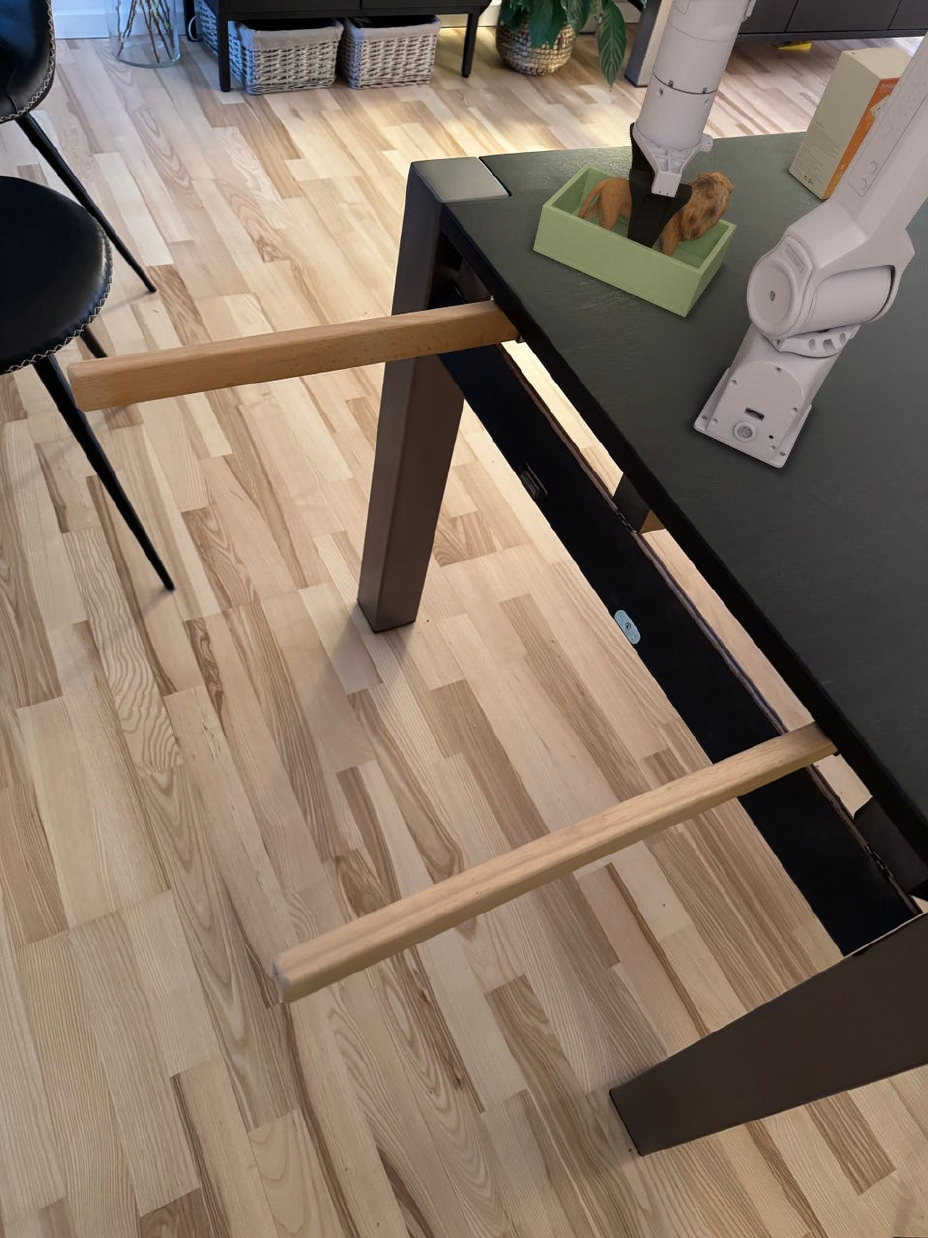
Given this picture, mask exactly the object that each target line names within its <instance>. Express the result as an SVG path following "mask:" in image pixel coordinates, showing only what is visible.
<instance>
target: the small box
mask: <svg viewBox="0 0 928 1238" xmlns="http://www.w3.org/2000/svg"><path fill="white" fill-rule="evenodd" d="M912 57H913V56H911V55H910V54H909V53H907V52H905V51H904V50H903V49H901V48H900V47H899V46H887V47H865V48H861V49H852V50H851V49H849V50H842V51H841V53H840V55H839V58H838V60H837V62H836V64H835V67H834V68H833V71H832V73H831V76H830V78H829V80H828V82H827V85H826V87H825V88H824V91H823V94H822V95H821V98H820V100H819V102H818V104H817V106H816V109H815V111H814V113H813V116H812V117H811V119H810V122H809V125H808V127H807V129H806V131H805V133H804V136H803V138H802V140H801V141H800V144H799V146H798V148H797V151H796V153H795V155H794V158H793V159H792V162H791V165H790V167H789V168H788V172H789V173H790V174H791V175H792V176H793V177H794V178H796V180H798V181H799V182H800V183H801V184H802V185H803V186H805V188H807V189H808V190H809V191H810V192H811V193H813V194H814V195H815V196H816V197H818V198H819V200H827V199H829V198H830V196H831V194H832V193H833V191H834V189H835V188H836V186H837V184H838V183H839V181H840V179H841V177H842V176H843V174H844V172H845V171H846V169H847V167H848V166H849V164H850V162H851V160H852V159H853V157H854V155H855V154H856V152H857V150H858V149H859V147H860V145H861V143H862V142H863V140H864V138H865V137H866V135H867V133H868V132H869V130H870V128H871V126H872V125H873V123H874V121H875V120H876V118H877V116H878V115H879V113H880V111H881V109H882V108H883V106H884V104H885V103H886V101H887V99H888V98H889V96H890V94H891V92H892V91H893V89H894V87H895V86H896V84H897V82H898V81H899V79H900V77H901V75H902V74H903V72H904V70H905V69H906V67H907V65H908V64H909V62H910V60H911V58H912Z"/></svg>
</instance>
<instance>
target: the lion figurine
mask: <svg viewBox="0 0 928 1238" xmlns="http://www.w3.org/2000/svg"><path fill="white" fill-rule="evenodd" d="M686 184H687V185H692V196H691V198H690V200H689V202H688V203H687V204H686V205H685V206H683V207H682V208H681V209H680V210H679V211H678V212H677V213H676V214H675V215H674V216H673V217H672V218H671V219H670V221H669V222H668V223H667V225H666V226H665V228H664V229H663V231H662V233H661V234H660V236H659V238H658V241H657V243H656V245H655V247H654V250H655V251H658V252H660V253H662V254H665V255H667V256H669V257H671V256H672V255H673V253H674V251H675V250H676V247H677V245H678V243H679V242H684V241H691V242H693V241H695V240H696V239H699V238H701V236H702V235H703V234H704V233H705V232H706V231H708V230H709V229H711V228H712V227H714V226H715V225H716V224H717V223H718V221H719V220H720V219H722V218H723V217H724V215H725V214H726V212H727V210H728V208H729V206H730V197H731V194H732V192H733V191H734V187H735V186H734V184H733V183H731V182H730V179H729V178H727V177H726V176H725V175H724V174H722V172H719V171H710V172H709V171H705V172H701V173H699V174H698V175H697V178H696V180H694V181H693V182H688V183H686ZM597 195H598V196H599V198H598V200H597V201H596V202H595V203H594V204H593V205H592V206H591V207H590V208H589V206H590V204H591V203H592V202H593V200H594V199H595V197H596V196H597ZM631 204H632V201H631V194H630V188H629V179H627V178H624V177H622V178H610V179H606V180H603V181H601V182H600V183H598V184H597V185H596V186H595V187H594V188H593V189H592V191H591V192H590V193H589V195H588V196H587V198H586V200H585V201H584V203H583V205H582V207H581V209H580V211H579V213H578V215H577V217H579V218H581V219H584V220H586V221H590V220H591V219H593V218H596V217H599V220H600V222H599V226H600V227H602V228H604V229H607V230H609V231H610V230H611V229H612V227H613V226H614V225H615V223H616V221H617V219H618V217H619V216H622V217H623V218H624V219H625V220H626V222H627V223H628V224H629V220H630V214H631Z"/></svg>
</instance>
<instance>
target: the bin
mask: <svg viewBox="0 0 928 1238" xmlns="http://www.w3.org/2000/svg"><path fill="white" fill-rule="evenodd" d="M610 178H623V177H621V176H619V175H617V174H614V173H612V172H610V171H607V170H605V169H602V168H600V167H598V166H594V165H593V164H590V163H588V162H586V163H585V164H584V165H583V166H581V168H580V169H579V170H578V171H577V172H576V173H574V174H573V176H571V177H570V178H569V180H568V181H566V182H565V183H564V184H563V185H562V186H561V187H560V188H559V189H558V190H557V191H556V192H554V194H553V195H552V196H551V197H549V199H548V200H547V201H546V202H545V203H544V204H543V205H542V208H541V213H540V217H539V222H538V225H537V231H536V235H535V240H534V244H533V247H532V251H534V252H536V253H539V254H540V255H543V256H546V257H547V258H550V259H551V260H554V261H556V262H559V263H561V264H563V265H565V266H568V267H570V268H572V269H575V270H577V271H579V272H581V273H584V274H586V275H587V276H590V277H593V278H594V279H597V280H599V281H601V282H604V283H606V284H609V285H611V286H613V287H615V288H618V289H620V290H622V291H624V292H627V293H628V294H631V295H633V296H635V297H638V298H640V299H643V300H645V301H647V302H649V303H651V304H653V305H656V306H658V307H660V308H663V309H665V310H667V311H669V312H672V313H674V314H676V315H678V316H680V317H682V318H686V317H687V315H688V314H689V312H691V310H692V308H693V307H694V305H695V304H696V302H697V301H698V300H699V298H700V297H701V295H702V294H703V293H704V291H705V290H706V288H707V286H708V285H709V284H710V283H711V281H712V279H713V278H714V277H715V275H716V274H717V272H718V271H719V269H720V268H721V266H722V263H723V260H724V259H725V255H726V253H727V251H728V249H729V246H730V244H731V242H732V239H733V237H734V234H735V232H736V229H737V224H734V223H732V222H729V221H727V220H725V219H722V218H721V219H720V220H719V221H718V223H717V224H716V225H715V226H714V227H712V228H711V229H709V230H708V231H706V232H705V233H704V234H703V235H702V236H701V238H699V239H696V240H695V241H693V242H691V241H684V242H679V243H678V245H677V247H676V250H675V251H674V253H673V255H672V256H671V257H669V256H667V255H665V254H662V253H660V252H658V251H655V250H654V247H655V245H656V243H657V241H658V239H657V241H656V243H655V244H654V246H653V247H652V249H651V248H648V247H646V246H644V245H641V244H639V243H637V242H635V241H632V240H630V239H628V238H627V233H628V226H629V224H628V223H627V222H626V220H625V219H624V218H623V217H622V216H619V217H618V219H617V221H616V223H615V225H614V226H613V227H612V229H611V230H610V231H609V230H607V229H604V228H602V227H600V226H599V222H600V220H599V217H596V218H593V219H591V220H590V221H586V220H584V219H581V218H579V217H577V215H578V213H579V211H580V209H581V207H582V205H583V203H584V201H585V200H586V198H587V196H588V195H589V193H590V192H591V191H592V189H593V188H594V187H595V186H596V185H597V184H598V183H600V182H601V181H603V180H606V179H610ZM598 198H599V196H598V195H597V196H596V197H595V199H594V200H593V202H592V203H591V204H590V206H589V208H590V207H591V206H592V205H593V204H594V203H595V202H596V201H597V200H598Z"/></svg>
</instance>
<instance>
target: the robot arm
mask: <svg viewBox="0 0 928 1238" xmlns="http://www.w3.org/2000/svg"><path fill="white" fill-rule="evenodd" d="M756 1H757V0H672V1H671V4H670V7H669V10H668V14H667V18H666V22H665V25H664V28H663V32H662V35H661V38H660V43H659V46H658V49H657V53H656V56H655V60H654V62H653V66H652V70H651V74H650V76H649V80H648V84H647V87H646V92H645V94H644V97H643V101H642V103H641V108H640V111H639V115H638V118H637V119H636V120H635V121H634V122H631V123H630V124H629V139H630V146H631V167H630V168H629V172H628V180H629V188H630V194H631V201H632V204H631V214H630V220H629V226H628V233H627V238H628V239H630V240H632V241H635V242H637V243H639V244H641V245H644V246H646V247H648V248H651V249H652V247H653V246H654V244H655V243H656V241H657V239H658V238H659V236H660V234H661V233H662V231H663V229H664V228H665V226H666V225H667V223H668V222H669V221H670V219H671V218H672V217H673V216H674V215H675V214H676V213H677V212H678V211H679V210H680V209H681V208H682V207H683V206H685V205H686V204H687V203H688V202H689V200H690V198H691V196H692V185H687V184H688V183H681V179H682V177H683V172H684V171H685V170H686V168H687V167H688V166H689V165H690V163H691V162H692V161H693V160H694V158H695V156H696V155H697V154H698V153H701V152H702V153H710V152H712V148H713V146H714V139H713V136H712V135H711V134H709V133H705V132H704V130H705V129H706V125H707V122H708V119H709V117H710V114H711V112H712V111H711V110H712V108H713V105H714V102H715V99H716V96H717V93H718V91H719V88H720V85H721V83H722V79H723V76H724V73H725V70H726V68H727V65H728V63H729V60H730V56H731V53H732V51H733V48H734V45H735V43H736V40H737V36H738V34H739V31H740V27H741V25H742V23H744V22H746V21H747V19H748V17H749V18H750V17H751V15H752V12H753V10H754V7H755V4H756ZM911 57H912V58H911V60H910V62H909V64H908V65H907V67H906V69H905V70H904V72H903V74H902V75H901V77H900V79H899V81H898V82H897V84H896V86H895V87H894V89H893V91H892V92H891V94H890V96H889V98H888V99H887V101H886V103H885V104H884V106H883V108H882V109H881V111H880V113H879V115H878V116H877V118H876V120H875V121H874V123H873V125H872V126H871V128H870V130H869V132H868V133H867V135H866V137H865V138H864V140H863V142H862V143H861V145H860V147H859V149H858V150H857V152H856V154H855V155H854V157H853V159H852V160H851V162H850V164H849V166H848V167H847V169H846V171H845V172H844V174H843V176H842V177H841V179H840V181H839V183H838V184H837V186H836V188H835V189H834V191H833V193H832V194H831V196H830V198H827V199H825V200H824V202H822V203H821V204H819V205H818V206H817V207H815V208H813V209H812V210H810V211H808V213H806V214H804V215H803V216H802V217H800V218H799V219H797V220H796V221H795V222H793V223H791V224H790V225H789V226H788V227H786V229H785V231H784V233H783V235H782V236H781V238H780V240H779V241H778V242H777V244H776V245H775V246H774V247H773V248H772V249H770V250H769V251H767V252H766V253H764V254H763V255H762V256H760V258H758V260H757V261H756V263H755V264H754V266H753V268H751V269H752V270H751V272H750V274H749V278H748V281H747V288H746V305H747V311H748V318H749V320H750V321H751V323H750V325H749V327H748V328H747V329H748V330H747V331H746V334H745V336H744V337H743V339H742V342H741V344H740V346H739V348H738V350H737V353H736V355H735V357H734V359H733V361H732V363H731V365H730V367H728V368H726V369H725V372H724V373H723V375H722V377H721V378H720V380H719V381H718V383H717V385H716V387H714V390H713V391H712V393H711V394H710V396H709V398H708V399H707V401H706V403H705V405H704V406H703V408H702V409H701V411H700V413H699V415H698V417H697V418H696V419H695V421H694V423H693V428H694V430H695V431H697V432H699V433H701V434H703V435H706V436H708V437H709V438H712V439H715V440H716V441H718V442H721V443H723V444H725V445H727V446H729V447H731V448H733V449H735V450H738V451H740V452H742V453H744V454H745V455H748V456H751V457H753V458H755V459H757V460H759V461H761V462H763V463H766V464H768V465H770V466H772V467H774V468H777V469H781V468H783V467H784V465H785V463H786V461H787V459H788V457H789V456H790V453H791V450H792V449H793V447H794V444H795V442H796V441H797V438H798V436H799V434H800V433H801V430H802V428H803V427H804V424H805V421H806V419H807V417H808V415H809V413H810V412H811V410H812V402H813V400H814V398H815V397H816V395H817V393H818V392H819V390H820V388H821V386H822V385H823V383H824V381H825V380H826V379H827V376H828V374H829V373H830V371H831V370H832V368H833V367H834V365H835V363H836V361H837V360H838V358H839V356H840V355H841V353H842V351H843V349H844V348H845V346H846V344H847V343H848V341H849V340H852V339H854V338H855V336H856V334H857V333H858V331H859V330H860V328H861V326H862V325H868V324H872V323H873V322H874V323H875V322H876V321H878V320H879V319H881V318H882V317H883V316H885V314H886V313H887V312H888V311H889V310H890V308H891V307H892V305H893V304H894V301H895V299H896V297H897V295H898V291H899V286H900V283H901V282H900V281H901V279H902V275H903V273H904V271H905V270H906V268H907V266H908V265H909V263H910V262H911V261H912V259H913V257H914V256H915V254H916V251H915V249H914V245H913V241H912V240H911V237H910V235H909V233H908V231H907V229H906V228H907V227H908V225H909V224H910V222H911V221H912V220H913V218H914V217H915V216H916V214H917V213H918V211H919V210H920V208H921V207H922V206H923V204H924V202H925V201H926V199H927V198H928V30H927V31H926V33H925V35H924V36H923V38H922V40H921V41H920V43H919V45H918V47H917V48H916V50H915V52H914V53H913V55H912V56H911Z"/></svg>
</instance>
